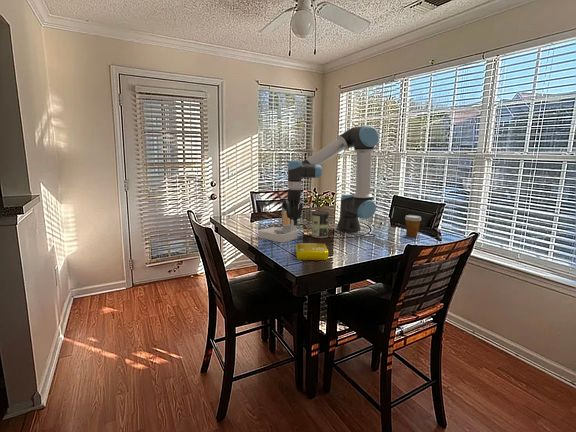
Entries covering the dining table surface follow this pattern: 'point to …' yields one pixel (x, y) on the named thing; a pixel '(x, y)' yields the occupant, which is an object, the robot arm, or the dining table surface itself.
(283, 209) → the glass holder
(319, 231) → the coffee can
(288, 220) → the plug
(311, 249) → the element tile
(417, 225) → the disposable coffee cup
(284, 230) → the shutter
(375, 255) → the dining table surface
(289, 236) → the socket plate
